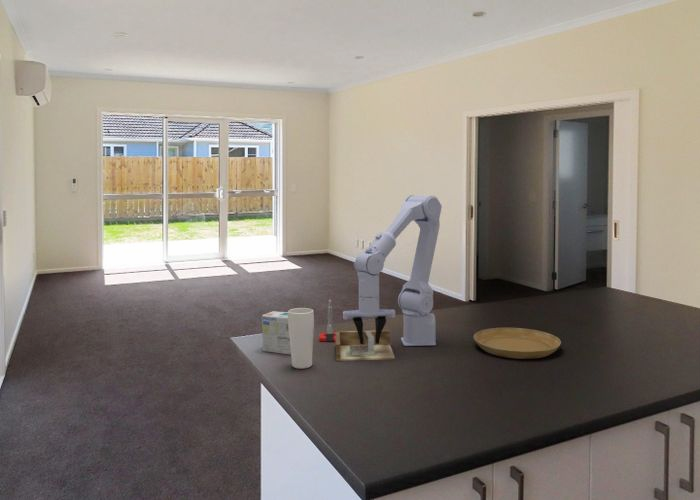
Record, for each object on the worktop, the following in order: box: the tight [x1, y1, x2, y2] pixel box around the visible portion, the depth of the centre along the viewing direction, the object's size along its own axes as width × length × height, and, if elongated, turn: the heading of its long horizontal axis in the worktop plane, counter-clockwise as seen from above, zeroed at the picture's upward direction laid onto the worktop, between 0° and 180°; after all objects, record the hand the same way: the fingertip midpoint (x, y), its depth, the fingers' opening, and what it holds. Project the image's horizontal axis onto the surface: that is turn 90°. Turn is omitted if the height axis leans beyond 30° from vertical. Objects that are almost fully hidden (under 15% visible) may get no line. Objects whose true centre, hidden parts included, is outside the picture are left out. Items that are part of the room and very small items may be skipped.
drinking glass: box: [287, 307, 315, 370], centre depth 151 cm, size 7×7×15 cm
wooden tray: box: [334, 329, 391, 360], centre depth 163 cm, size 16×14×4 cm
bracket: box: [350, 330, 374, 356], centre depth 161 cm, size 7×6×5 cm
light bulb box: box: [261, 310, 291, 356], centre depth 166 cm, size 11×7×11 cm, turn 65°
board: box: [335, 344, 396, 362], centre depth 163 cm, size 16×14×1 cm
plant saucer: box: [473, 327, 562, 360], centre depth 165 cm, size 24×24×3 cm
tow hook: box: [318, 299, 336, 343], centre depth 178 cm, size 8×13×9 cm
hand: (369, 343), depth 162 cm, fingers open, 4 cm apart
